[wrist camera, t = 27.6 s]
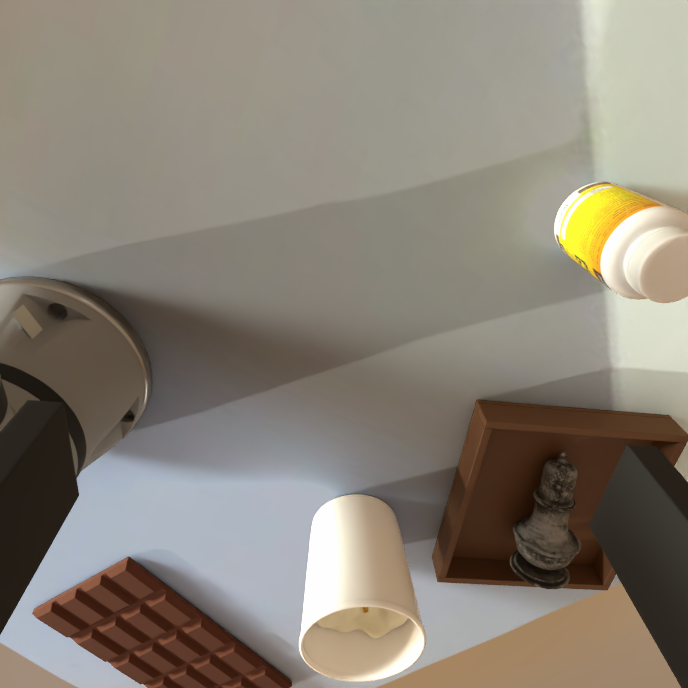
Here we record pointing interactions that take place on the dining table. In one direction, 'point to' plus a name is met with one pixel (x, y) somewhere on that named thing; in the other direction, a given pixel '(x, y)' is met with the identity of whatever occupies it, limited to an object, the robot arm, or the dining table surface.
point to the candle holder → (359, 594)
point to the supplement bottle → (626, 241)
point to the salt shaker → (548, 529)
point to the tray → (536, 484)
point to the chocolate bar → (154, 633)
